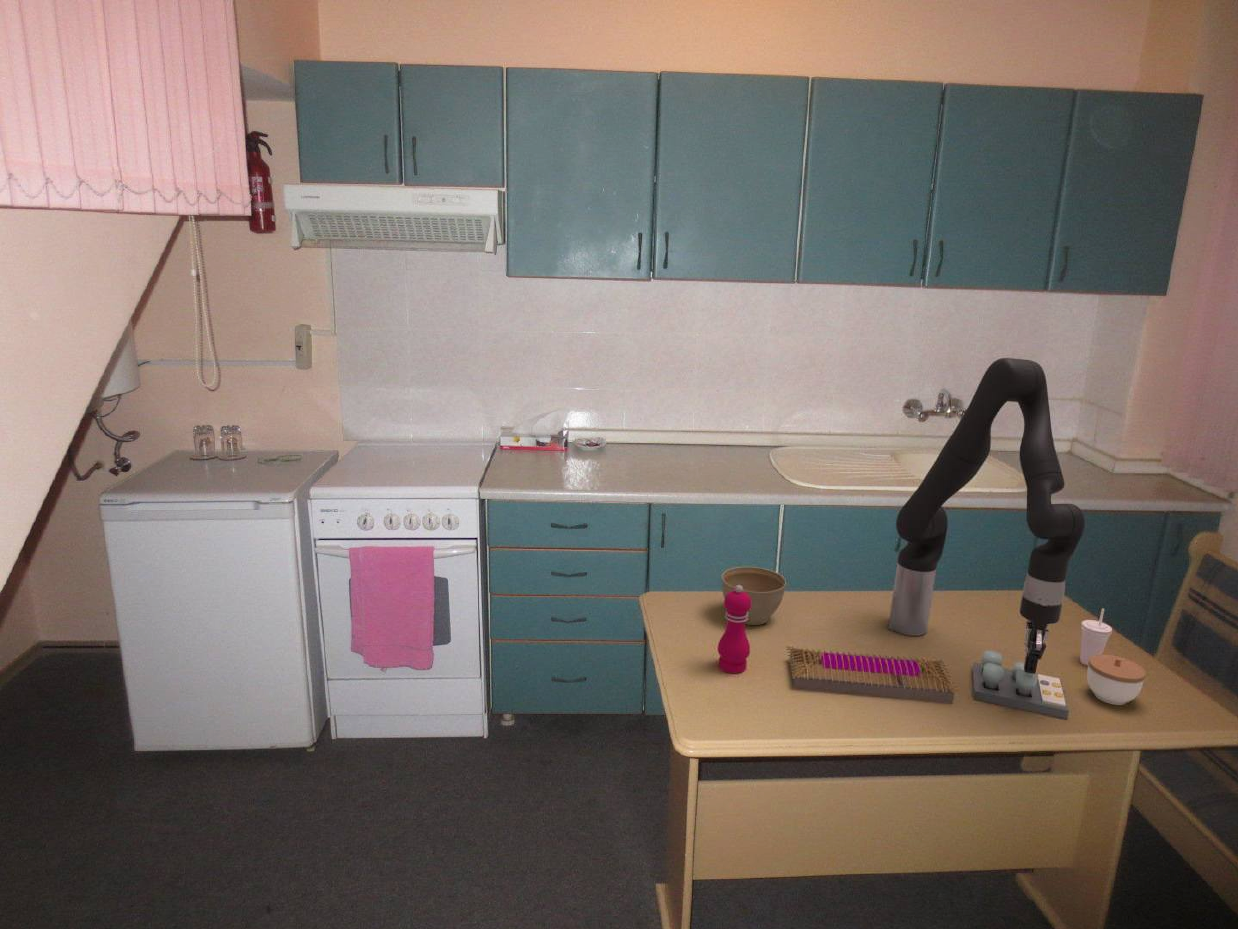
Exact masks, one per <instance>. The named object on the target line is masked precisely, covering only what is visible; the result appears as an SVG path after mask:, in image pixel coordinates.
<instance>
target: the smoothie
mask: <svg viewBox="0 0 1238 929" xmlns="http://www.w3.org/2000/svg"><path fill="white" fill-rule="evenodd" d="M1104 613H1105V608H1101V611H1100V616H1099V620H1098V621H1097V620H1095V619H1085V620H1083V621H1081V624H1080V627H1081V640H1080V641H1081V644H1080V659H1079V660H1080V663H1081V664H1083V665H1084V666H1087V667H1088V665H1089V664H1088V662H1089V658H1090V657H1091V656H1093V655H1098V654H1104V650H1105V648H1106V645H1107V643H1108V640H1109V637H1110V635H1112V634H1113V627H1111V626H1110V625H1108V624H1107V623H1105V622H1103V618H1104Z"/></svg>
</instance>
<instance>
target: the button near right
mask: <svg viewBox="0 0 1238 929" xmlns="http://www.w3.org/2000/svg"><path fill="white" fill-rule="evenodd" d="M1036 683H1037V675H1036V673H1035V674H1031V673H1026V672H1025V671H1024V670H1018V671H1017V674H1016V680H1015V684H1016V685H1017V686H1018V694H1020V695H1022V696H1030V691H1031V690H1034V689H1035V688H1036Z"/></svg>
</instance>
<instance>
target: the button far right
mask: <svg viewBox="0 0 1238 929" xmlns="http://www.w3.org/2000/svg"><path fill="white" fill-rule="evenodd" d="M1024 663H1025V662H1020V661H1017V662H1014V663H1013V668H1012V670H1013V672H1012V676H1013V677H1014V678H1015V680H1016V674H1017V671H1018V670H1024Z"/></svg>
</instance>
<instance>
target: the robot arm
mask: <svg viewBox="0 0 1238 929" xmlns="http://www.w3.org/2000/svg"><path fill="white" fill-rule="evenodd" d="M1048 391H1049V390H1048V383H1047V378H1046V373H1045V372H1044V369H1043V367H1042V366H1041V365H1040V364H1039V363H1038V362H1036V361H1034V360H1030V359H1022V358H1014V357H1013V358H1010V357H1001V358H998V359H996V360H994V361H993V362H992V363H991V364H989V366H988V368H987V369H986V370H985V372H984V373H983V376H982V377H981V380H980V382H979V384H978V386H977V388H976V389H975V392H974V395H973V396H972V397H971V398H972V399H971V401H970V402H969V405H968V406H967V408H966V410H965V412H964V414H963V415H962V417H961V418H960V421H958V424H957V426H956V428H955V429H954V430H953V432H952V434H950V436H949V438H948V439H947V441H946V442H945V444H944V446H943V447H942V449H941V451H940V452H939V454H938V456H937V458H936V460H935V461H934V462H933V464H932V466H931V467H930V468H929V470H928V472H927V473H926V475H925V477H924V478H923V479H922V482H921V483H920V485H919V486H918V487H917V489H916V490H915V491H914V493H913V494H912V495H911V496H910V497H909V498H908V500H907V501H906V502H905V504H904V505H903V506H902V508H901V509H900V510H899V512H898V514H897V517H896V521H895V528H896V531H897V533H898V536H899V537H900V538H901V539H903V540H904V541H905V542H908V543H907V544H906V546H904V547H903V548H902V549H901V550H900V551H899V552H898V557H897V563H896V564H897V565H896V572H895V578H894V585H893V591H892V592H893V593H892V598H891V605H890V613H889V619H888V627H887V628H888V630H892V631H894V632H895V633H896V632H897V633H899V634H901V635H906V636H912V637H917V636H918V637H919V636H924V635H925V634H926V633H927V632H928V626H929V621H930V613H931V607H932V600H933V593H934V586H935V580H936V573H937V568H938V563H939V561H940V560H941V558H942V556H943V552H944V548H945V547H944V546H945V543H946V537H947V533H948V527H949V524H948V523H949V522H948V521H949V520H948V519H949V518H948V514H947V512H946V510H945V508H944V507H943V506H944V504H945V503H946V502H947V501H948V500H950V498H952V497H953V496H954V495H955V494H957V493H958V492H959V491H960V490H962V489H963V488H964V487H965V486H967V485H968V483H969V482H971V481H972V480H973V479H974V477H975V476H976V475H977V473H978V472H979V471H980V470H981V467H983V465H984V463H985V462H986V460H987V458H988V456H989V454H990V453H991V452H990V451H991V445H992V433H991V432H992V431H991V430H992V425H993V422H994V420H995V418H996V417H997V415H998V413H999V412H1000V411H1001V409H1002V408H1003V406H1004V405H1005V404H1006V403H1008V402H1012V403H1017V404H1018V405H1019V409H1020V410H1021V414H1022V417H1023V423H1024V424H1023V433H1022V438H1021V440H1020V446H1019V464H1020V467H1021V470H1022V471H1021V472H1022V475H1023V479H1024V481H1025V485H1026V512H1025V513H1026V518H1025V519H1026V524H1027V527H1028V529H1029V531H1030V532H1031V534H1032V535H1033V536H1035V537H1036V538H1038V539H1040V540H1047V542H1045V543H1044V544H1041V545H1038V546H1036V547H1034V548H1033V549H1032V550H1031V552H1030V556H1029V561H1028V568H1027V573H1026V577H1025V579H1024V583H1023V584H1024V585H1023V589H1022V596H1021V602H1020V607H1019V614H1020V615H1021V617H1022V618H1025V619H1026V621H1025V629H1026V630H1025V635H1024V641H1025V642H1024V645H1025V650H1024V652H1025V656H1024V658H1025V659H1024V662H1023V663H1024V671H1025V672H1026V673H1031V674H1036V672H1037V669H1038V668H1037V667H1038V662H1039V660H1042V658H1043V655H1044V652H1045V650H1046V648H1047V643H1046V641H1047V639H1048V637H1049V629H1048V625H1050V624H1051V625H1054V624H1057V623H1059V621H1060V619H1061V613H1062V608H1063V603H1064V602H1063V601H1064V598H1065V593H1066V592H1065V590H1066V578H1067V572H1068V567H1069V562H1070V560H1071V558H1072V557H1073V554H1074V553H1075V550H1076V548H1077V547H1078V544H1079V542H1080V540H1082V539H1081V538H1082V537H1083V534H1084V532H1085V531H1084V530H1085V525H1086V520H1085V516H1084V513H1083V511H1082V509H1081V508H1080V507H1079V506H1077V505H1075V504H1073V503H1052V495H1054V494H1056V493H1059V492H1061V491H1063V489H1064V488H1065V479H1064V476H1063V471H1062V469H1061V465H1060V460H1059V459H1058V454H1057V452H1056V447H1055V443H1054V441H1055V440H1054V437H1053V429H1052V421H1051V411H1050V410H1051V409H1050V404H1049V392H1048Z"/></svg>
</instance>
